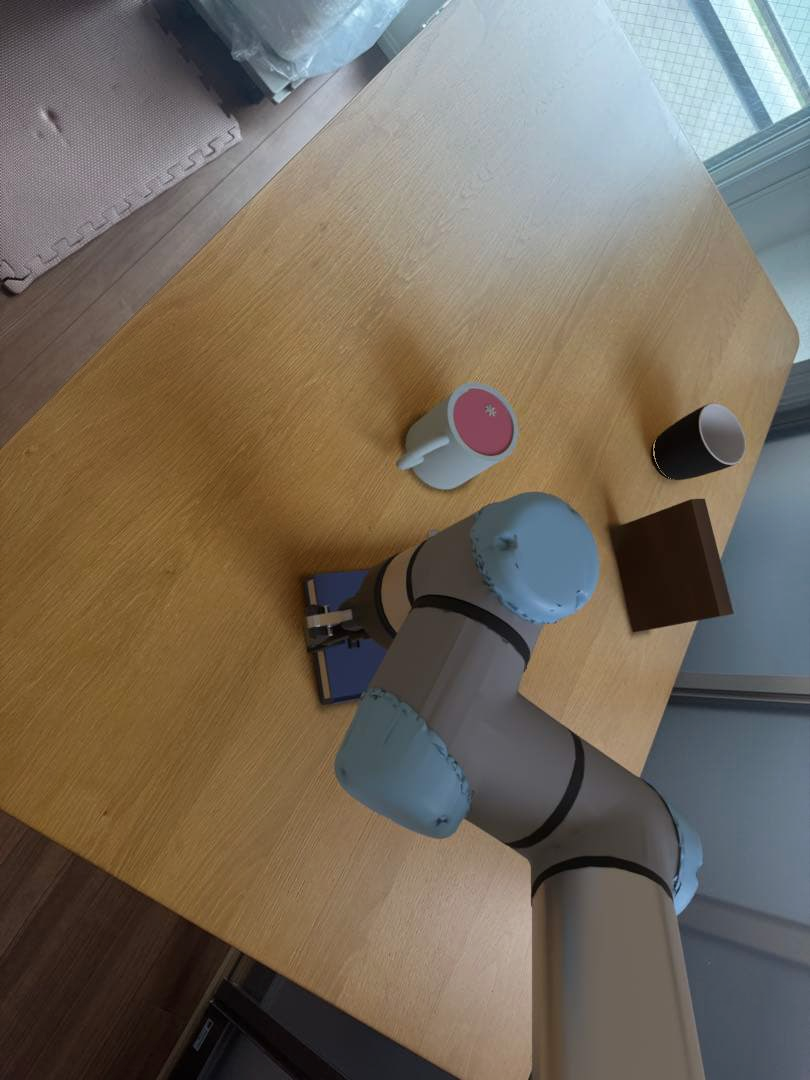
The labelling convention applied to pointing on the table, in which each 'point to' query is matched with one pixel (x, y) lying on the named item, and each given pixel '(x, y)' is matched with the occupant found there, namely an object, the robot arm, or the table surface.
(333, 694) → the book
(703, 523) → the dark brown flat block
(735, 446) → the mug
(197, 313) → the table surface
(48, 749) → the table surface
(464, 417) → the mug
